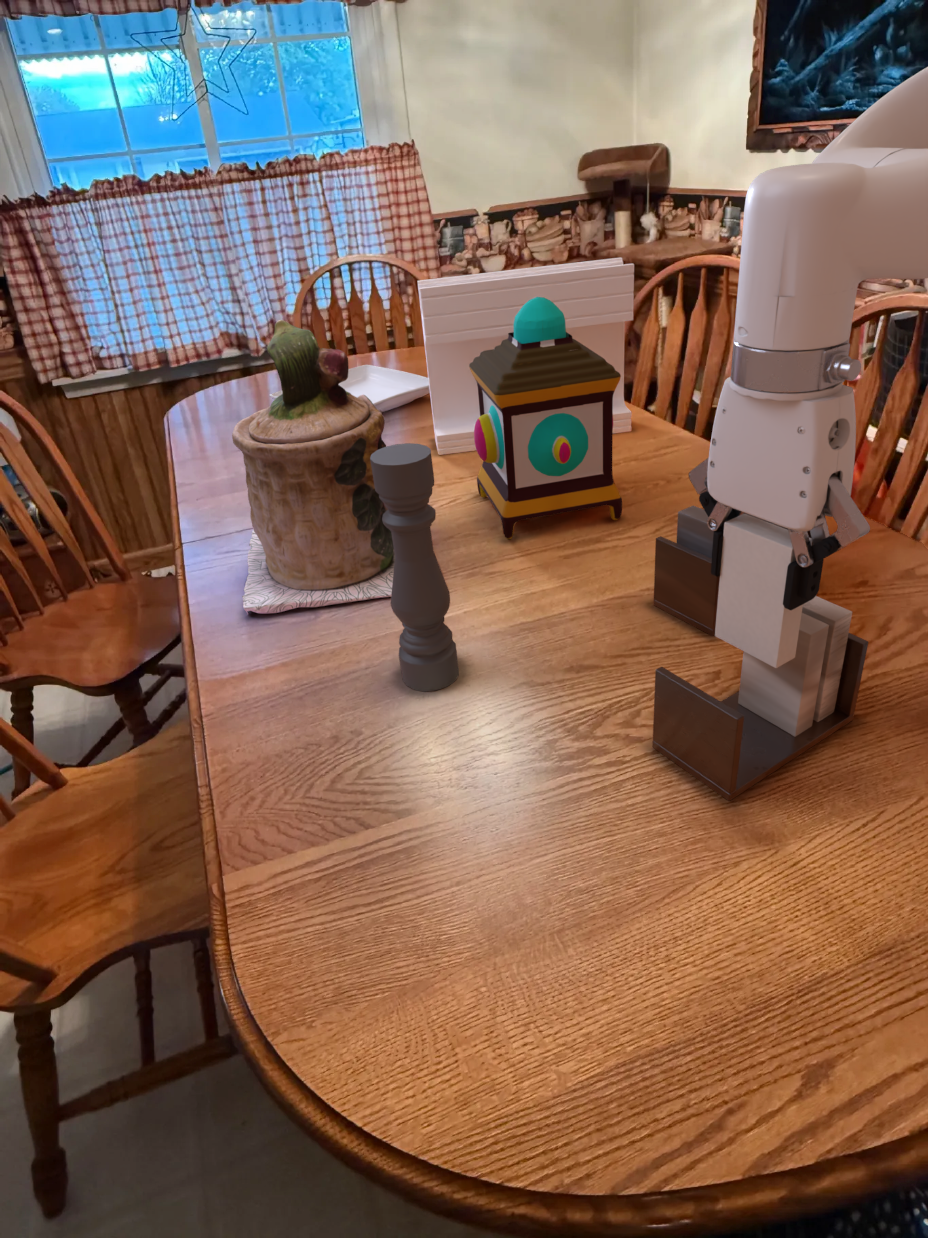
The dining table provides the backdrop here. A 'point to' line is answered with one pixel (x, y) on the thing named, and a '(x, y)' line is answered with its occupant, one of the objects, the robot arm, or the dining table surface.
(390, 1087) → the dining table surface
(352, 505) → the cookie jar
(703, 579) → the dark brown wooden holder
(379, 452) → the candle holder
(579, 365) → the decorative lantern
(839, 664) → the dark brown rack
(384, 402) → the square plate
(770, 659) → the white book
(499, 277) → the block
